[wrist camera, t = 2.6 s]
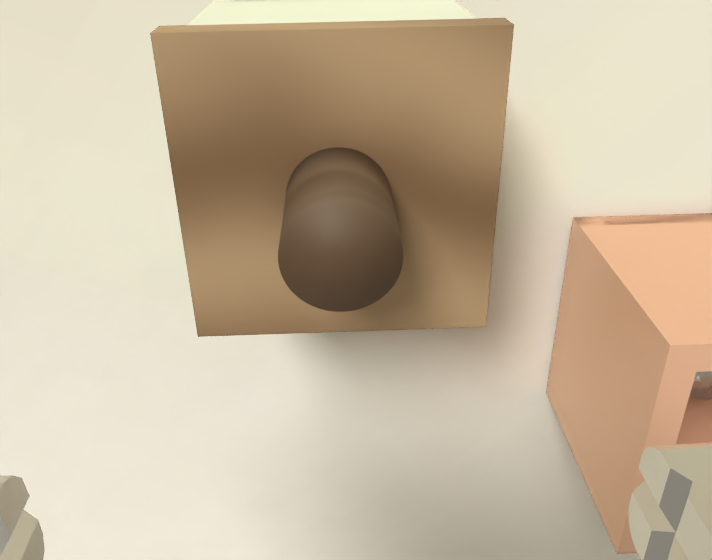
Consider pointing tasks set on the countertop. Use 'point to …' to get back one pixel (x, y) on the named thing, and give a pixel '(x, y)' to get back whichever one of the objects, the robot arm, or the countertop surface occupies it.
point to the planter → (631, 349)
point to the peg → (702, 386)
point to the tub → (327, 11)
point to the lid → (336, 170)
